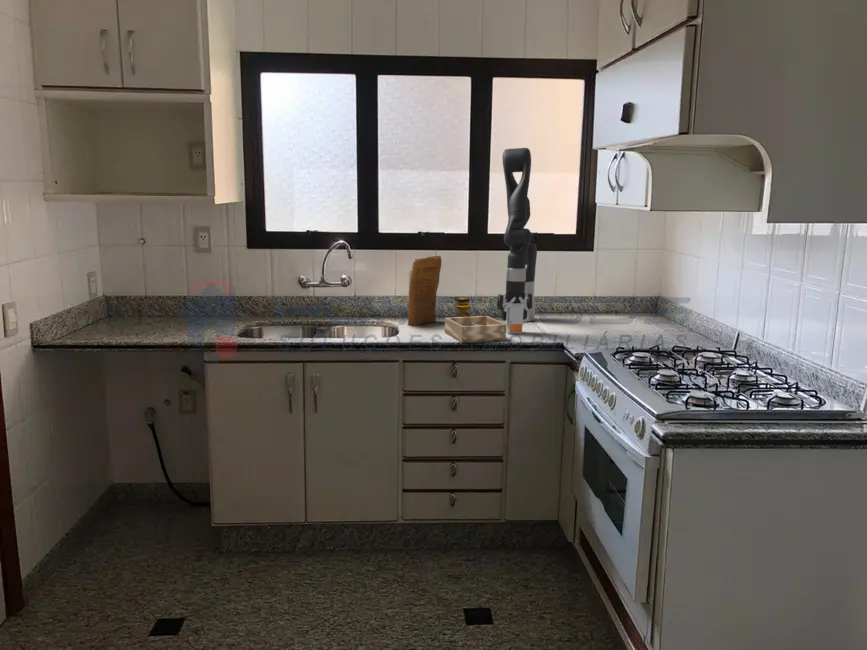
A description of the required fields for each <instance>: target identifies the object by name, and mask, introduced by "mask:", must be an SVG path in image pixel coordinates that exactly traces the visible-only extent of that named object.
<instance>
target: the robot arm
mask: <svg viewBox="0 0 867 650" xmlns="http://www.w3.org/2000/svg"><path fill="white" fill-rule="evenodd" d="M501 157H502V169H503V174H504V181H505V189H506V204H507V205H506V207H507V216H508V217H507V218H508V221H507V226H506V227H505V228H506V229H505V231H504V234H503V242H504V244H505V245H506V246H508V247H509V251H510V252H509V253H508V255H507V264H506V265H507V266H506V267H507V269H506V276H505V277H506V278H505V294H500V293H499V294H497V304H496V309H497V310H500V311H501V319H502V321H503V322H505V321H506V319H507V312H506V310H507V309H508V308H509V307H510V304H515V303H522V304H524V309H523V323H525V322H532V321H536V320H535V318H536V317H535V316H536V298H534V297H535V278H536V266H537V265H536V264H537V257H538V249H537V248H538V247H537V245H536V244H535V243H531V240H532V232H531V230H530V229H528V228H525V227H526V225H527V223H528V221H529V220H530V217H531V205H530V198H529V197H528V195H529V187H530V180H531V179H530V178H531V171H532V170H531V169H532V154H531V150H530V149H529V147H519V148H506V149H504V150H503V152H502V156H501ZM514 173H521V176H520V177H521V178H520V180H519V182H517V181H516V177H515V176H514ZM504 300H505V301H504ZM507 303H508V304H507Z"/></svg>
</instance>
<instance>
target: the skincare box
mask: <svg viewBox="0 0 867 650" xmlns="http://www.w3.org/2000/svg"><path fill="white" fill-rule="evenodd" d="M507 304H508V303H507ZM523 309H524V304H522V303H515V304H510V307H509V308H508V309H507V310H506V312H507V319H506V321H504V324H506V334H523V324H524V322H523Z"/></svg>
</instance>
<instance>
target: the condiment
mask: <svg viewBox="0 0 867 650" xmlns="http://www.w3.org/2000/svg"><path fill="white" fill-rule="evenodd" d="M454 317H471V305H470V299H469V297H457V298H456V304H455V307H454Z"/></svg>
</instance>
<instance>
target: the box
mask: <svg viewBox="0 0 867 650" xmlns="http://www.w3.org/2000/svg"><path fill="white" fill-rule="evenodd" d="M444 334H447V335H448V336H449V337H451V338H453V339H454V340H456V341H458V342H459V341H460V342H459V343H462V344H463V343H464V344H465V343H478V342H480V343H481V342H482V341H483V342H493V341H492V340H500V341H506V340H505V339H507V332H506V324H505V322H502V321H500V320H497V319H495V318H493V317H491V316H488V315H478V316H470V317H455V316H454V317H445V318H444Z"/></svg>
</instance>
